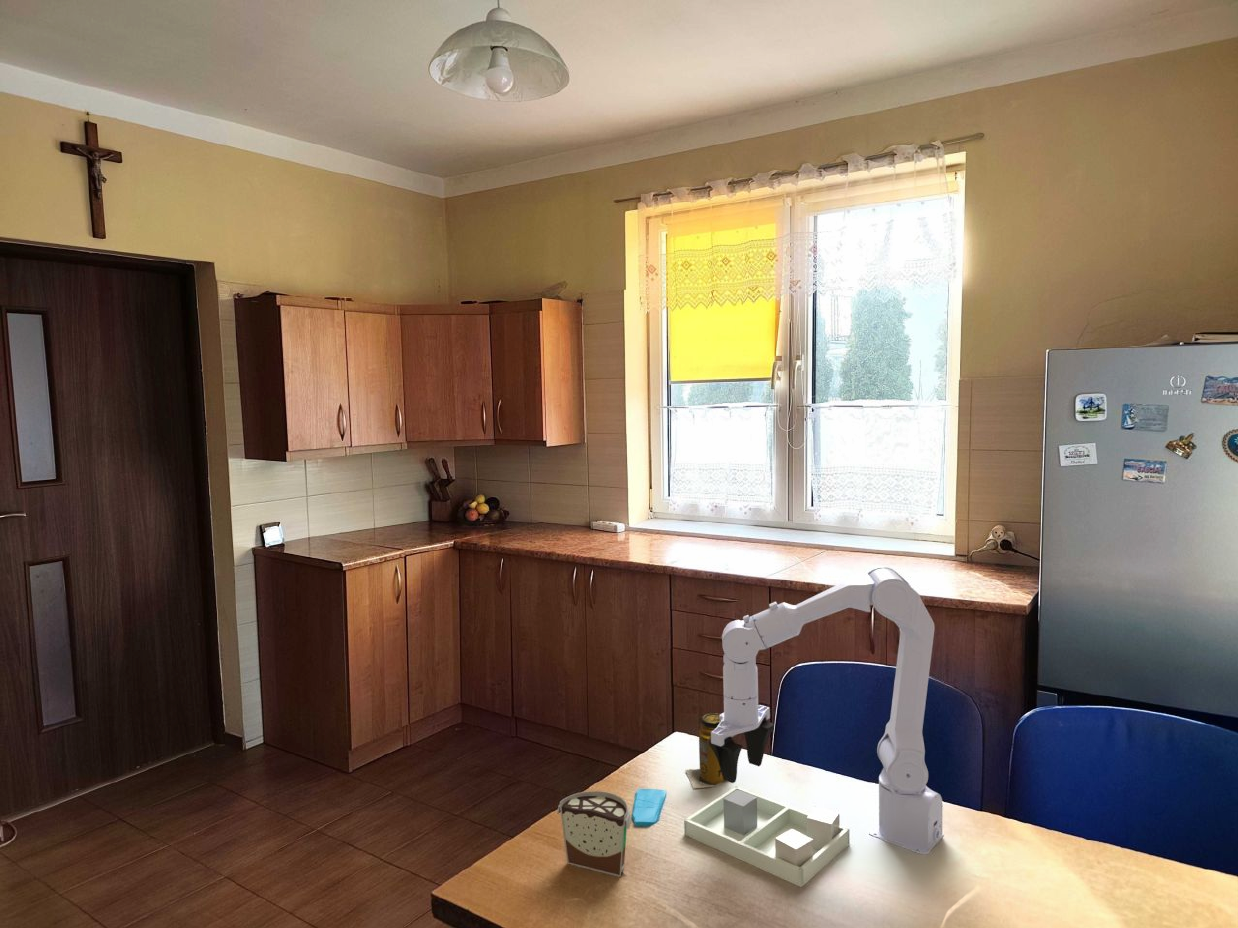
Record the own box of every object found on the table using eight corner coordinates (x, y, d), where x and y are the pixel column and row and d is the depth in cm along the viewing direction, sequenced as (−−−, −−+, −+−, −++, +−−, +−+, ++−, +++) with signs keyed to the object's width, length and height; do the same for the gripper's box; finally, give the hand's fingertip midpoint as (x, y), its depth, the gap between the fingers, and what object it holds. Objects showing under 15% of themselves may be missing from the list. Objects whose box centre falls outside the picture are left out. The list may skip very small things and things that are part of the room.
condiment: (737, 785, 149) (736, 723, 148) (693, 789, 148) (692, 727, 147) (727, 767, 157) (726, 708, 156) (685, 771, 156) (683, 712, 155)
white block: (813, 870, 121) (812, 839, 121) (796, 881, 119) (796, 849, 118) (792, 859, 124) (791, 828, 124) (775, 869, 122) (775, 837, 121)
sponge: (622, 821, 137) (655, 820, 135) (636, 787, 148) (666, 786, 147) (623, 829, 137) (656, 829, 135) (637, 795, 148) (667, 794, 147)
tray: (849, 846, 128) (849, 828, 128) (801, 889, 117) (801, 870, 117) (736, 802, 143) (736, 786, 143) (684, 837, 132) (684, 819, 132)
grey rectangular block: (757, 825, 134) (756, 797, 134) (743, 835, 131) (743, 806, 131) (737, 817, 137) (737, 789, 136) (724, 826, 134) (723, 798, 134)
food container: (645, 857, 127) (643, 797, 126) (629, 879, 121) (627, 816, 120) (577, 841, 132) (575, 783, 131) (559, 861, 126) (556, 801, 125)
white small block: (839, 842, 128) (839, 812, 128) (831, 854, 125) (831, 823, 125) (815, 835, 131) (815, 806, 130) (807, 847, 127) (806, 817, 127)
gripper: (745, 676, 140) (746, 750, 142) (695, 700, 130) (697, 780, 131) (779, 685, 136) (781, 761, 137) (730, 711, 125) (732, 794, 126)
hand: (742, 772), depth 134 cm, fingers open, 7 cm apart
